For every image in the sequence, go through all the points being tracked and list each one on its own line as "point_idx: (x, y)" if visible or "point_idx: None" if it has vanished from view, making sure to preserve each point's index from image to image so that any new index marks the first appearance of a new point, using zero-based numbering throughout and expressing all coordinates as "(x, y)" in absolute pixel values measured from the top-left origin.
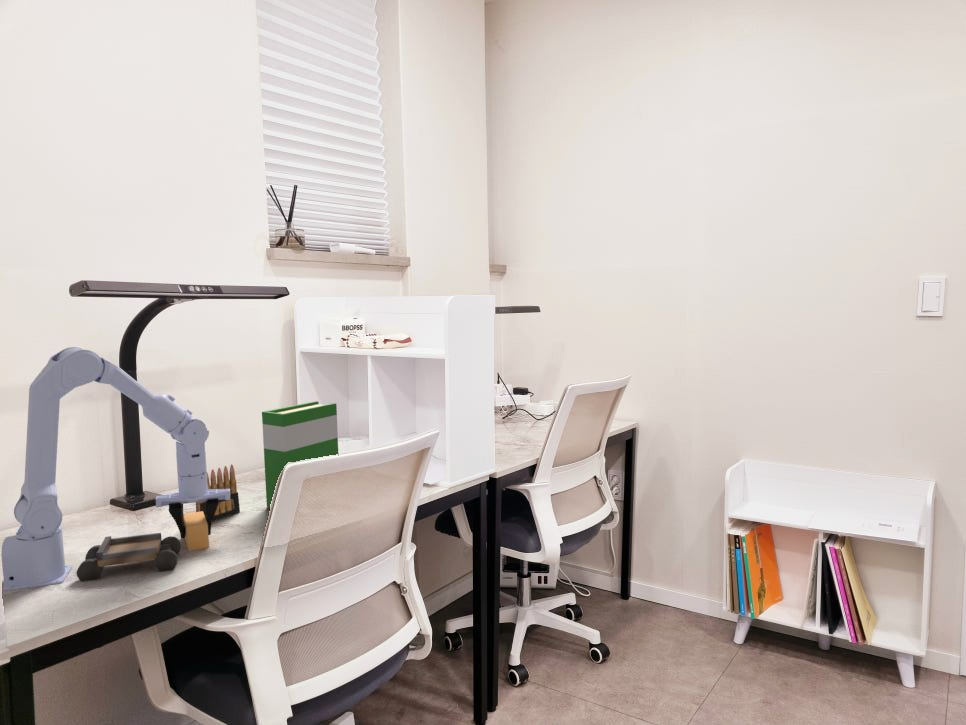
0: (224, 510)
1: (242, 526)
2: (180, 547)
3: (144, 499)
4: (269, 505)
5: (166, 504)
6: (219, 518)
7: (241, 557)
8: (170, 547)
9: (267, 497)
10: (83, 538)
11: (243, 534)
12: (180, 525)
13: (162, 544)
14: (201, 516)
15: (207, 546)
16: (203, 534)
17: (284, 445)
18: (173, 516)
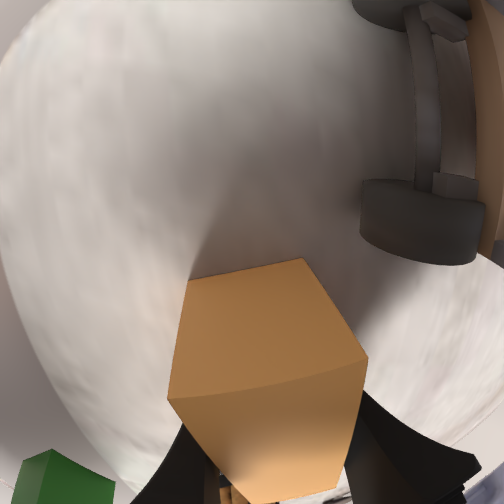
0: None
1: (120, 436)
2: (365, 213)
3: None
4: (106, 484)
5: (466, 497)
6: None
7: (16, 88)
8: (428, 180)
9: (109, 501)
10: (483, 386)
11: (81, 382)
12: (375, 417)
13: (472, 201)
14: (252, 485)
15: (196, 284)
16: (213, 332)
17: None
18: (442, 448)
